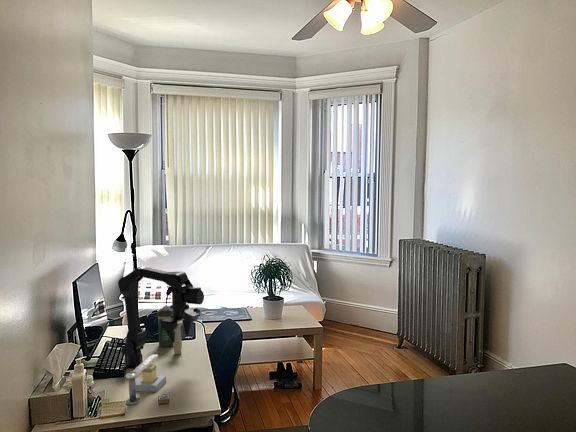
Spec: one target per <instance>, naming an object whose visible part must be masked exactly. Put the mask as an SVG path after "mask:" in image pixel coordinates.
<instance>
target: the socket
mask: <svg viewBox="0 0 576 432" xmlns="http://www.w3.org/2000/svg"><path fill="white" fill-rule="evenodd" d="M135 381H136V380H135ZM165 383H167V375H157V380H156V381H155V382H154V383H143V380H142V376H141V377H139V379H137V381H136V392H137V391H138V392H151V393H152V392H153V393H154V392H155V393H156V392H157V391H159V390H160V389H161V388H162V387H163V386H164V385H165Z"/></svg>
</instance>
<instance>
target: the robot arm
mask: <svg viewBox="0 0 576 432" xmlns="http://www.w3.org/2000/svg"><path fill="white" fill-rule="evenodd" d="M144 278H146V279H149V280H150V279H151V280H154V281H158V282H163V283H164V284H166V285H167V286H169V288H168V289H167V290H166V291H167V293H171V301H172V302H171V303H172V305H169V306H170V308H172V310H173V314H172V315H170V316H171V318H173V319H168V318H167V319H164V320H162V321H161V322H160V328H162V329H164V330H165V331H166V333H167V334H168V336H169V338H170V340H171V341H172V343H174V342H175V330H176V329H177V328H178V327H177V322H180V321H182V322H183V325H182V326H183V330H184V334H185V336H186V337H189V335H190V331H191V328H192V325H193V323H194V322H197V321H198V318H199V317H200V316H201V308H199V307H195V308H192V309H191V308H190V305H202V304H203V302H204V300H205V294H204V291H203V290H202V287H194V285H193V283H192V282H191V280H190V279H189V277H188V275H187V273H186V272H185V271H167V270H162V269H161V270H160V269H157V268H153V267H147V266H146V265H142V266H138V267H136V268H135V269H134V270H133V271H131V272H130V273H128V274H126V275H125V276H122V277H119V280H118V281H117V285H118V286H117V287H118V288H119V292H120V294H121V295H122V296H123V297H124V306H125V313H126V321H127V329H128V330H127V333H126V336H125V344H124V345H123V347H122V348H120V351H121V354H122V355H124V365H126V368H127V369H128V368H129V369H135V368H136V367H138V366H139V365H140V364H141V363H143V362H144V361H143V354H142V350H143V349H144V346H145V345H146V343H147V340H148V337H147V331H146V330H143V329H142V327H141V323H140V322H141V321H140V314H139V308H138V300H137V294H138V291H139V287H140V286H139V282H140V281H141V280H143V279H144Z"/></svg>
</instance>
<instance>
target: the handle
mask: <svg viewBox="0 0 576 432" xmlns="http://www.w3.org/2000/svg"><path fill="white" fill-rule="evenodd" d="M181 326H183V322H182V321H180V322H177V327H178V328H177V329H176V330H175V342H174V343H173V346H172V347H173V352H174V355H180V354H182V348H183V344H182V343H183V341H182V339H183V338H182V331H181V330H182V329H181V328H182V327H181Z"/></svg>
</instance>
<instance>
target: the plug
mask: <svg viewBox="0 0 576 432" xmlns="http://www.w3.org/2000/svg"><path fill="white" fill-rule="evenodd" d="M141 377H142V380H143V383H154V382H155V381H156V380H157V364H152V363H151V364H149V365H148V366H147V367H146V368H145V369H144V370H142V371H141Z"/></svg>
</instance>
